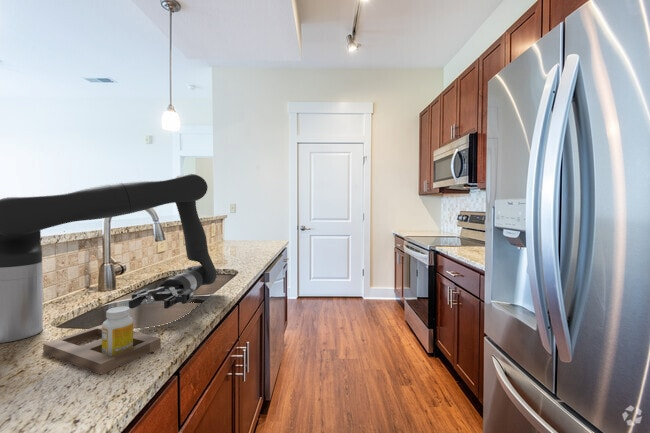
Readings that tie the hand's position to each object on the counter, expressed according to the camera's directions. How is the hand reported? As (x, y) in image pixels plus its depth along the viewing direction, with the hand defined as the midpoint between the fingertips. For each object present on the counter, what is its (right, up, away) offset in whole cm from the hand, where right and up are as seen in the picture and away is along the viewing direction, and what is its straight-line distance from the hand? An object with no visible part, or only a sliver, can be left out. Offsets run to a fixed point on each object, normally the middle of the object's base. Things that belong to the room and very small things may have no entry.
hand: (148, 304), depth 73 cm
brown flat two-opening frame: (-4, -7, -9) cm, 12 cm away
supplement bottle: (0, -7, -11) cm, 13 cm away
